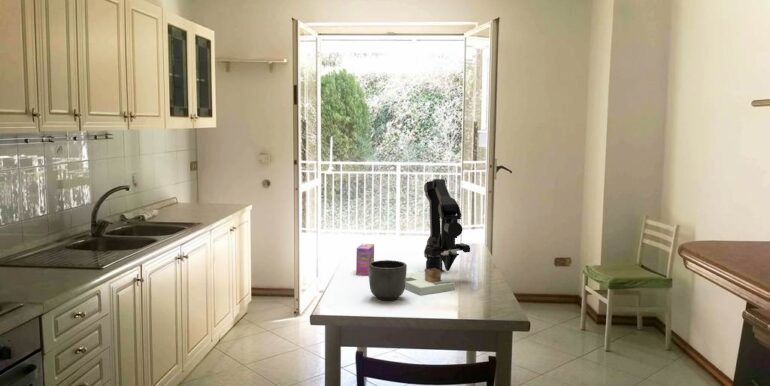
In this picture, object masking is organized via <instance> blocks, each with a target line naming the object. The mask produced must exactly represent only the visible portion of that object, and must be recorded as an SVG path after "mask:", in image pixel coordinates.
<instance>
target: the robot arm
mask: <svg viewBox="0 0 770 386" xmlns="http://www.w3.org/2000/svg"><path fill="white" fill-rule="evenodd" d="M423 191H424V193H425V197H426V199H427V200H428V202H429V203H428V204H429V228H430V233H429V234H430V235H429V237H428V238H427V240H426V245H425V248H424V251H423V255H424V258H425V259H426V260H425V269H432V268H435V269H438V270H441V273H442V272H443V273H444V272H445V271H447V272H448V271H450V269H451V267H452V266H453V264H454V261H455V260H457V257H458V256H459V255H460V253H458V252H459V251H462V253H465V254H466V253H471V246H470V244H467V243H463V242H460V243H456V239H457V238H458V237H460V235H461V234H462V233H463V226H462V225H461V223H459V222H458V221H459V220H461V219H462V213H461V207H460V206H459V204H458V202H457V201H456V199H455V198H453V197H452V196H451V195H450V193H449V190H448V188H447V185H446V180H445V179H444V178H434V179H432V180H430V181H426V182H425V183H424V185H423ZM443 266H444V268H445V269H443Z"/></svg>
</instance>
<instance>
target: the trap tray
mask: <svg viewBox="0 0 770 386" xmlns="http://www.w3.org/2000/svg"><path fill="white" fill-rule="evenodd" d="M455 286H456V283H455V282H448V283H447V282H446V280H443V279H441V282H435V283H430V282H428V281H425V272H421V271H416V272H415V271H414V272H408V273H407V272H406V284H405V290H407V291H409V292H411V293H413V294H416V295H419V296H425V295H431V294H437V293H444V292H451V291H455V290H456V289H455V288H456V287H455Z"/></svg>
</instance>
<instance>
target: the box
mask: <svg viewBox="0 0 770 386" xmlns="http://www.w3.org/2000/svg"><path fill="white" fill-rule="evenodd" d="M374 261H375V244H373V243H361V244H360V245H358V246H357V247H356V262H355V264H356V265H355V266H356V271H355V272H356V273H355V274H356V275H357V276H366V277H367V276H368V277H369V264H370V263H371V262H374ZM356 275H355V276H356Z"/></svg>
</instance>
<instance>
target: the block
mask: <svg viewBox="0 0 770 386" xmlns="http://www.w3.org/2000/svg"><path fill="white" fill-rule="evenodd" d="M424 274H425V281H428V282H430V283H435V282H441V280H442V278H441V277H442V272H441V270H438V269H435V268H432V269H426V268H425V269H424Z"/></svg>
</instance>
